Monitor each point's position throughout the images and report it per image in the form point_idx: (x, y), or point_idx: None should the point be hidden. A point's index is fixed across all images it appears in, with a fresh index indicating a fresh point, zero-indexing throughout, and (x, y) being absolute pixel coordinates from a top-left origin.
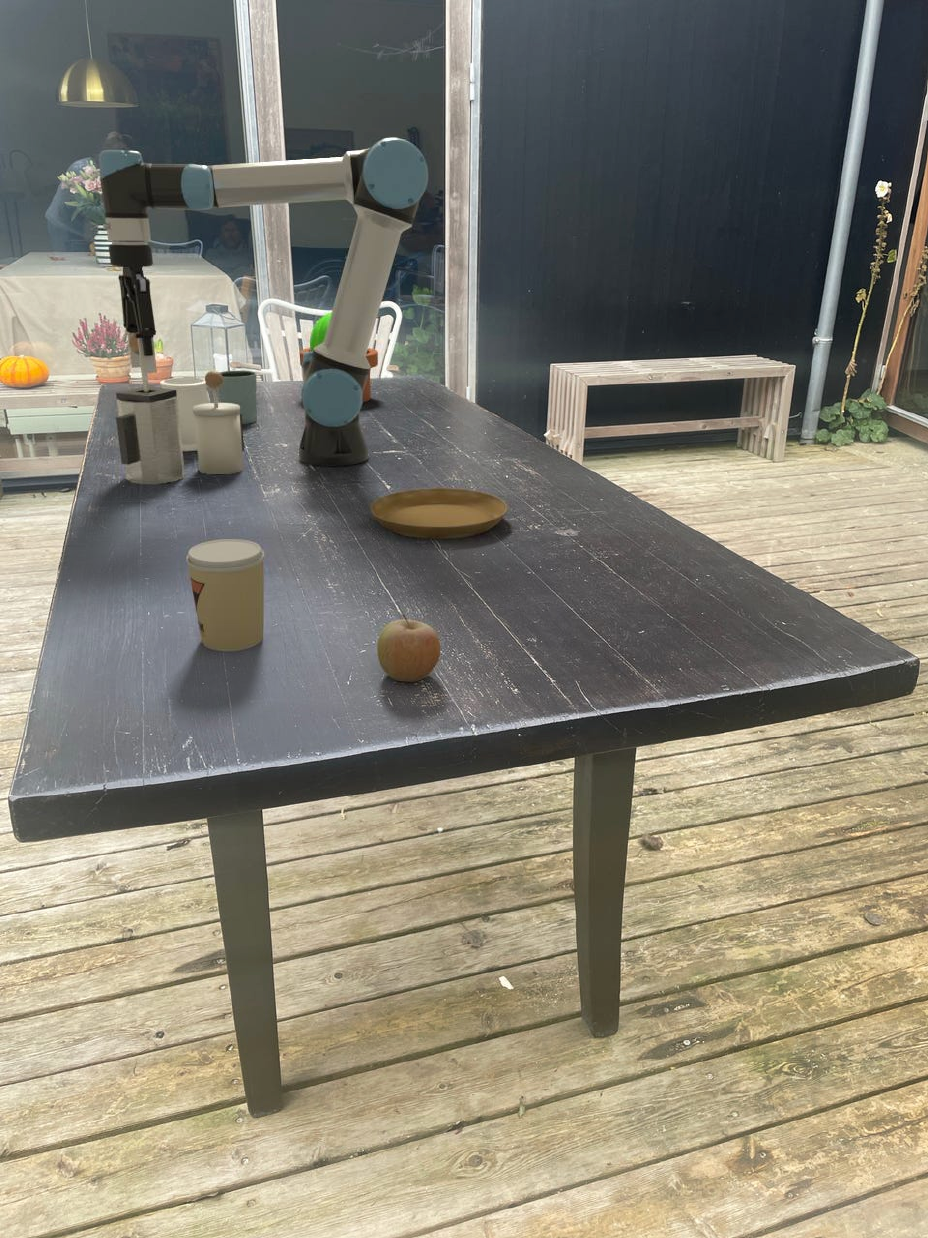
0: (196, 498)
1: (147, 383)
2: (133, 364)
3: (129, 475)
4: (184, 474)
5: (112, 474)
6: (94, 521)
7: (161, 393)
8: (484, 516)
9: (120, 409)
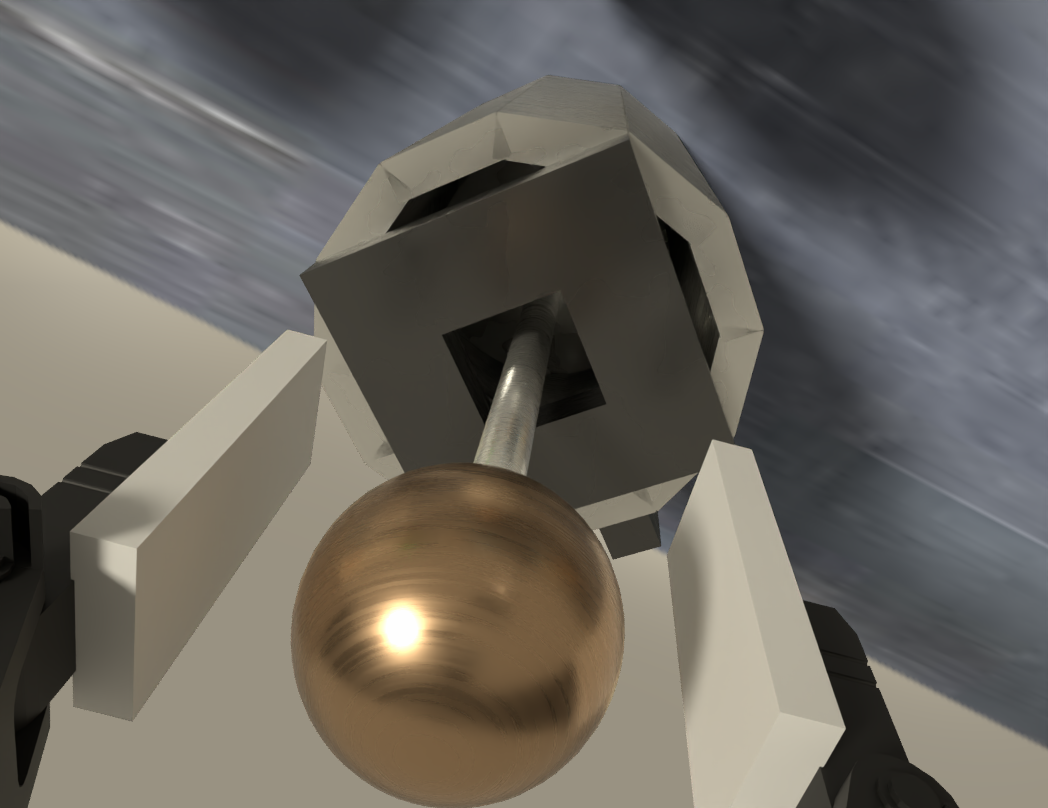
0: (1014, 267)
1: (540, 390)
2: (302, 467)
3: None
4: (629, 93)
5: None
6: (938, 648)
7: (693, 327)
8: None
9: None
